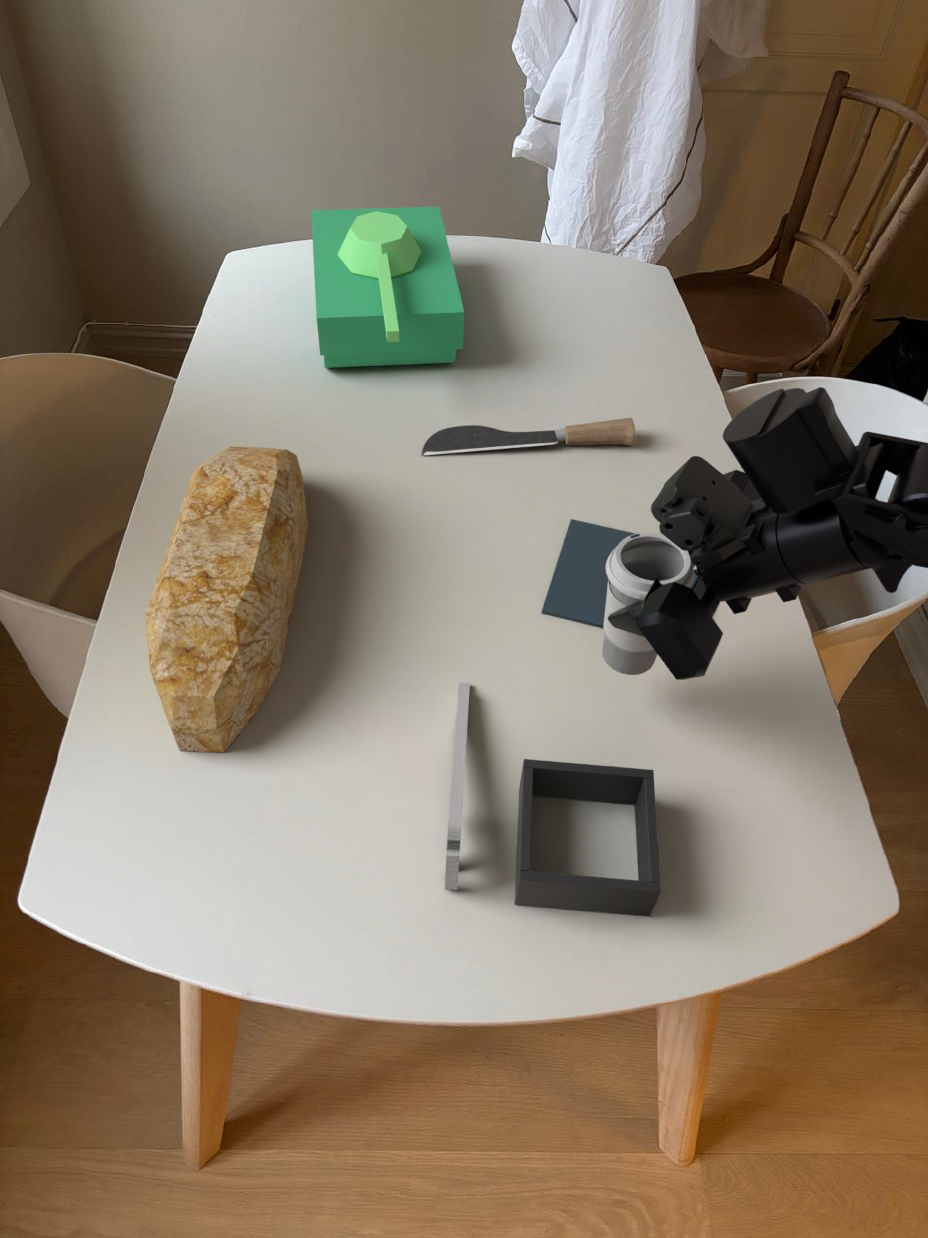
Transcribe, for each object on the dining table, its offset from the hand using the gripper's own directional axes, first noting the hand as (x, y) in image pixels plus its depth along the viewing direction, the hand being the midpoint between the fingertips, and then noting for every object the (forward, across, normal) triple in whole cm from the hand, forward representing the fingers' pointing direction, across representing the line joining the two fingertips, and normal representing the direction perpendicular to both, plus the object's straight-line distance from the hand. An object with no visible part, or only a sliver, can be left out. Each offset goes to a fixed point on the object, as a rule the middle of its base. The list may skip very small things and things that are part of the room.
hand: (627, 593), depth 77 cm
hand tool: (+25, -29, -7) cm, 39 cm away
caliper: (+15, +15, +4) cm, 22 cm away
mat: (+11, -14, +7) cm, 19 cm away
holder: (+6, +16, +13) cm, 21 cm away
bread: (+35, +8, -16) cm, 39 cm away
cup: (+4, 0, +6) cm, 7 cm away
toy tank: (+43, -40, -25) cm, 64 cm away
